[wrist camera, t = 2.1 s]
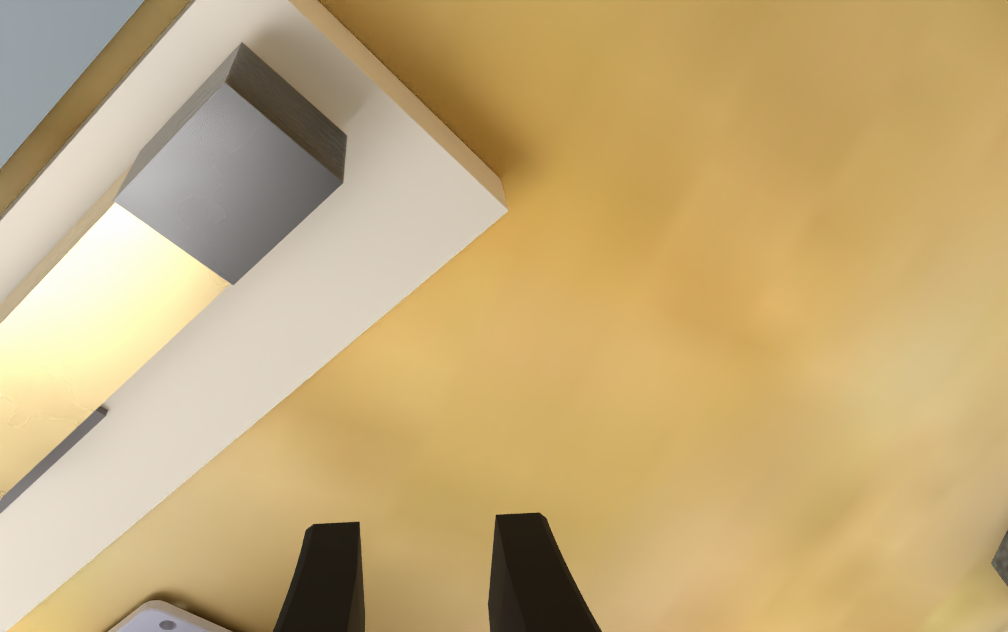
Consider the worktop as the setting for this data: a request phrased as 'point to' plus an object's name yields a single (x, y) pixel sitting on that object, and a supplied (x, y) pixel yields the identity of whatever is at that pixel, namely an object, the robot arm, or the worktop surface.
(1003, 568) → the mortar and pestle
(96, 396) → the swing bar
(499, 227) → the worktop surface
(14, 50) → the door panel
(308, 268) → the jamb plate
